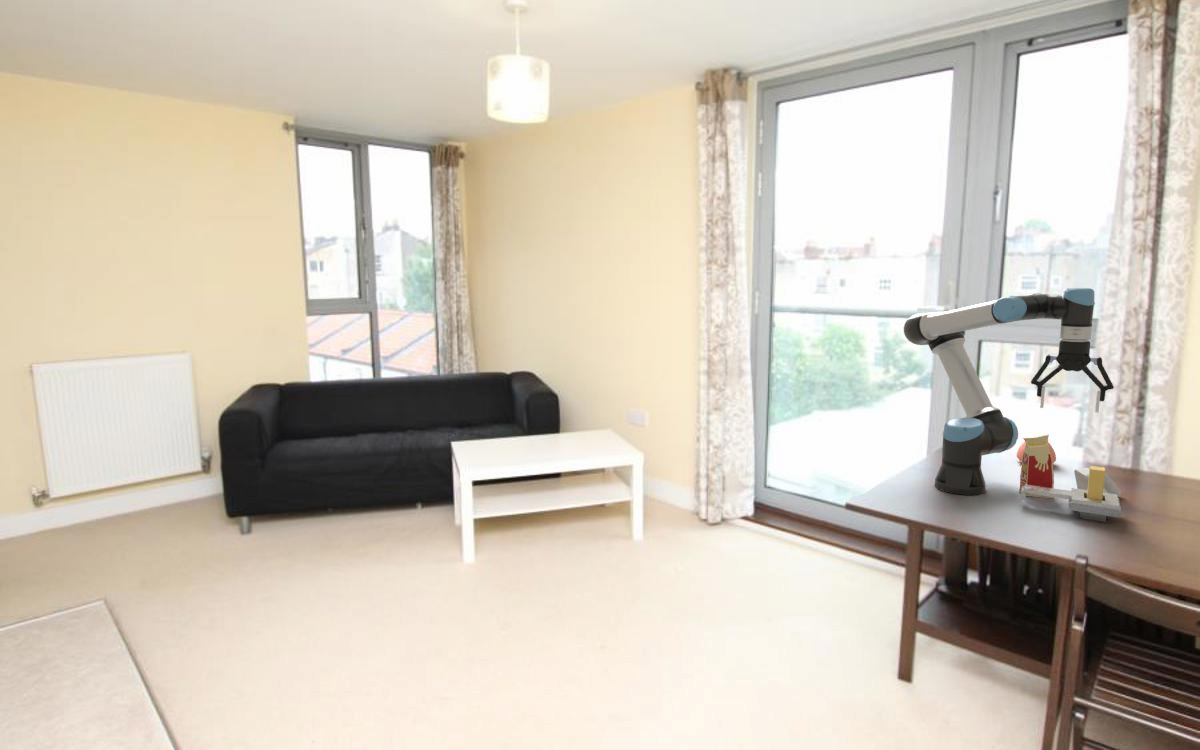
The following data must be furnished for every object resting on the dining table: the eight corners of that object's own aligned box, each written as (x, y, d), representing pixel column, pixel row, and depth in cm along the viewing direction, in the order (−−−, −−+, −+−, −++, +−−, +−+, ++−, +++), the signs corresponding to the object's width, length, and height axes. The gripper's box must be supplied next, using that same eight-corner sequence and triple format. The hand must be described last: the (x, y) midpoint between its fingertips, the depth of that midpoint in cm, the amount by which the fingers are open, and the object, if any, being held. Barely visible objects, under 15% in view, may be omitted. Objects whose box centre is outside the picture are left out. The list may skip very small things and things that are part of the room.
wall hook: (1128, 499, 204) (1123, 469, 203) (1092, 505, 206) (1086, 476, 205) (1114, 491, 211) (1108, 462, 210) (1079, 497, 214) (1073, 468, 213)
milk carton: (1047, 489, 216) (1052, 431, 213) (1053, 499, 208) (1059, 438, 205) (1015, 486, 220) (1020, 429, 217) (1020, 495, 212) (1025, 436, 208)
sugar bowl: (1011, 464, 243) (1013, 438, 241) (1022, 456, 252) (1024, 430, 251) (1050, 471, 234) (1052, 443, 233) (1060, 462, 244) (1062, 436, 242)
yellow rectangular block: (1086, 507, 192) (1090, 469, 190) (1086, 504, 195) (1089, 465, 193) (1101, 510, 190) (1105, 471, 188) (1100, 506, 193) (1104, 467, 191)
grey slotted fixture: (1019, 511, 199) (1020, 492, 198) (1021, 499, 209) (1023, 480, 208) (1119, 527, 185) (1121, 507, 184) (1117, 513, 195) (1119, 494, 194)
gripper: (1024, 339, 198) (1019, 407, 202) (1129, 343, 184) (1121, 416, 187) (1026, 337, 204) (1020, 403, 208) (1127, 340, 190) (1120, 411, 193)
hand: (1068, 409), depth 198 cm, fingers open, 13 cm apart
